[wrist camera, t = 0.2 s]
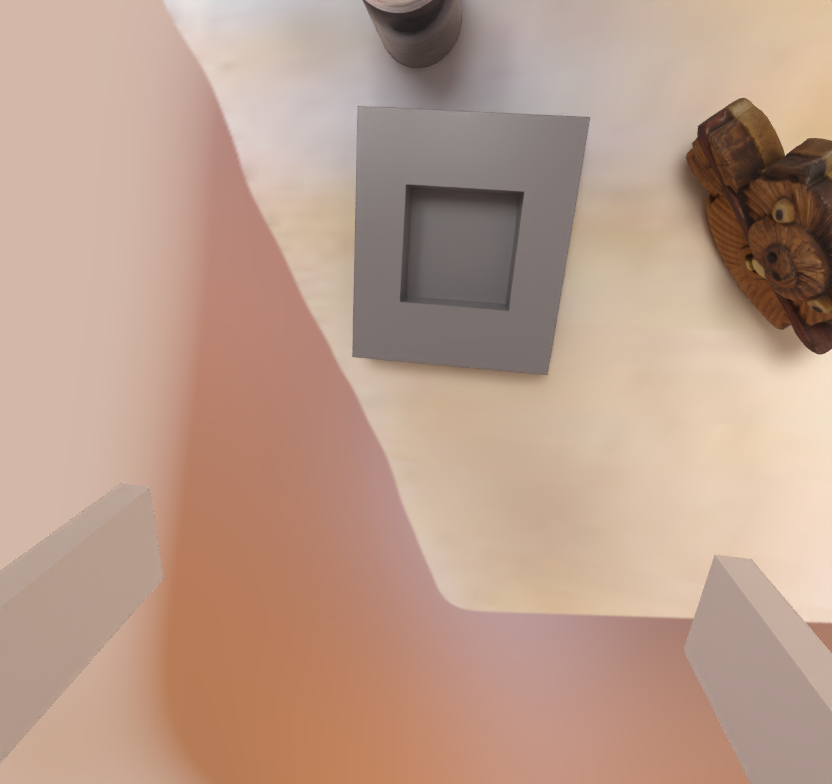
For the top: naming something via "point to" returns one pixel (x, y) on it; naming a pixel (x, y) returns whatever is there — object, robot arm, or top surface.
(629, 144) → the top surface
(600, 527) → the top surface
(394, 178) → the grey recessed frame block
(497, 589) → the top surface
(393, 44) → the lens
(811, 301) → the wooden carving
